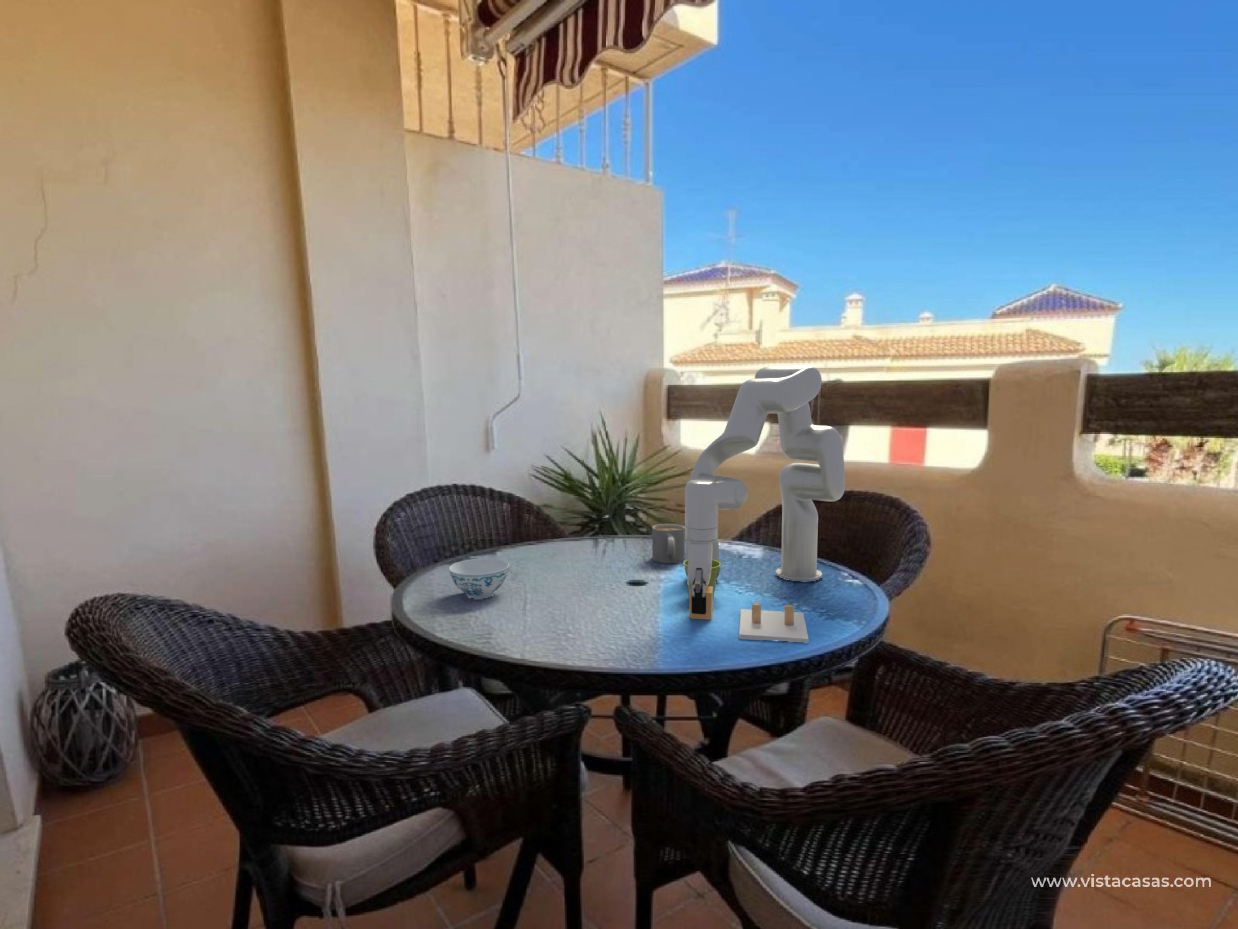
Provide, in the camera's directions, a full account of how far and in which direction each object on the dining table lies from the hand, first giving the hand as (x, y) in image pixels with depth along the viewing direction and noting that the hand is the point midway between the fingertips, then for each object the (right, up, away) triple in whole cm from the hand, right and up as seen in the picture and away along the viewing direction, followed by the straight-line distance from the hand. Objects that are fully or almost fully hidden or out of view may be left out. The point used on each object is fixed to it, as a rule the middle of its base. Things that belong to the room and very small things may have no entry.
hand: (700, 606), depth 151 cm
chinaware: (-55, -1, +17) cm, 57 cm away
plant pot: (+2, -1, +14) cm, 14 cm away
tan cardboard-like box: (0, -2, 0) cm, 2 cm away
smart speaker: (+4, +1, +28) cm, 28 cm away
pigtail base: (+15, -3, -8) cm, 17 cm away
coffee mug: (-4, +3, +49) cm, 49 cm away
